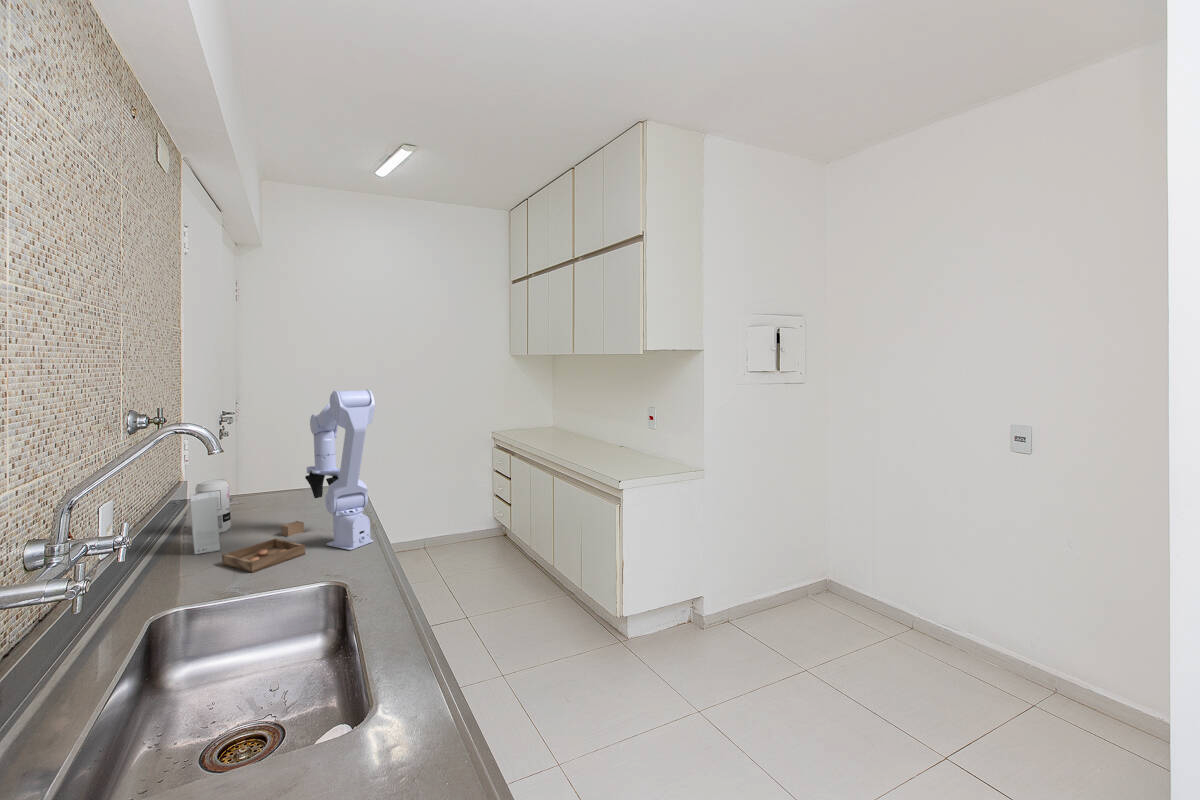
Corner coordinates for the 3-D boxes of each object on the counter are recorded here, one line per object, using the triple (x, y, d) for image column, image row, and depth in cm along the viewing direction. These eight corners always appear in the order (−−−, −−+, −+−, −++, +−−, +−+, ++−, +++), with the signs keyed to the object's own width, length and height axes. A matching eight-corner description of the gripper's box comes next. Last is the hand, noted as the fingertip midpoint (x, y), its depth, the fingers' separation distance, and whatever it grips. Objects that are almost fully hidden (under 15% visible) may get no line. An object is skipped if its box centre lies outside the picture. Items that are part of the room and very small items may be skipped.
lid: (330, 531, 168) (329, 520, 168) (283, 547, 154) (282, 534, 154) (301, 525, 174) (301, 514, 173) (254, 540, 160) (253, 527, 160)
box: (305, 554, 147) (304, 545, 147) (252, 572, 134) (251, 562, 134) (276, 547, 152) (275, 538, 152) (222, 564, 140) (221, 554, 139)
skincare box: (220, 550, 149) (217, 496, 148) (192, 555, 146) (189, 500, 145) (219, 542, 156) (216, 490, 155) (192, 546, 152) (189, 493, 151)
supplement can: (191, 533, 164) (188, 483, 163) (219, 525, 171) (217, 477, 170) (209, 536, 161) (206, 485, 160) (237, 528, 168) (235, 479, 167)
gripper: (296, 454, 165) (298, 499, 167) (330, 458, 159) (331, 504, 160) (317, 450, 172) (319, 493, 173) (350, 454, 165) (352, 499, 167)
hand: (326, 498), depth 167 cm, fingers open, 7 cm apart
